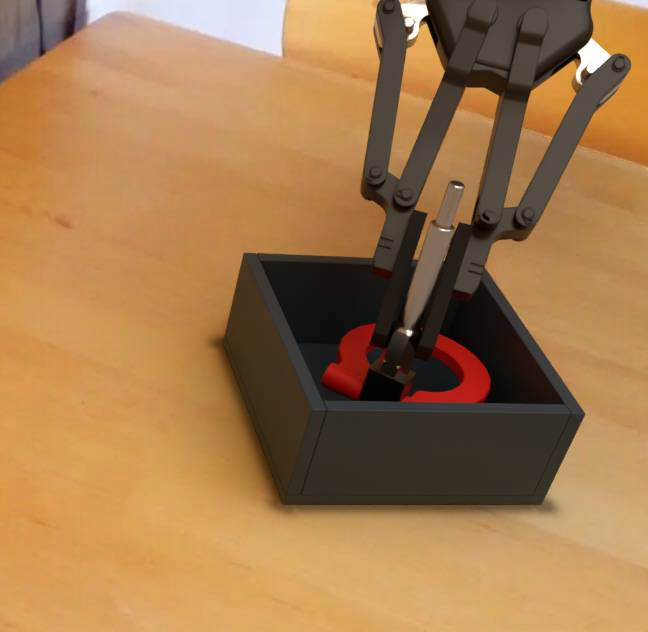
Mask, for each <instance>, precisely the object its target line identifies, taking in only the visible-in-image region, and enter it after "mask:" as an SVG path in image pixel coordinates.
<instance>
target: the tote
mask: <svg viewBox="0 0 648 632" xmlns="http://www.w3.org/2000/svg"><path fill="white" fill-rule="evenodd" d="M372 260H373V257H365V256H364V257H362V256H361V257H360V256H341V255H340V256H339V255H338V256H337V255H314V254H289V253H268V252H267V253H266V252H265V253H264V252H243V253H242V257H241V263H240V266H239V270H238V276H237V278H236V283H235V288H234V293H233V296H232V301H231V305H230V310H229V314H228V318H227V323H226V327H225V331H224V335H223V340H222V344H223V347H224V349H225V352H226V354H227V355H226V356H227V357H228V361H229V363H230V365H231V368H232V370H233V373H234V376H235V378H236V381H237V384H238V387H239V389H240V392H241V395H242V397H243V400H244V402H245V405H246V408H247V411H248V414H249V416H250V419H251V421H252V424H253V427H254V429H255V432H256V435H257V437H258V440H259V443H260V446H261V449H262V451H263V453H264V456H265V459H266V462H267V465H268V466H269V469H270V473H271V474H272V477H273V480H274V483H275V485H276V488H277V491H278V493H279V496H280V499H281V501H282V504H283V505H542V504H543V503H544V500H545V499H546V497H547V496H548V495H547V494H548V493H549V490H550V488H551V486H552V484H553V482H554V481H555V479H556V476H557V474H558V472H559V470H560V467H561V466H562V463H563V462H564V459H565V457H566V455H567V453H568V451H569V449H570V447H571V446H572V443H573V441H574V439H575V436H576V434H577V433H578V431H579V428H580V427H581V424H582V422H583V420H584V418H585V416H586V411H584V408H582V406H581V404H579V402H578V401H577V399H576V397H575V396H574V395H573V393H572V392H571V390H570V389H569V387H568V386H567V384H566V383H565V381H564V380H563V379H562V377H561V376H560V374H559V373H558V371H557V369H556V368H555V367H554V366H553V364H552V362H551V361H550V360H549V358H548V357H547V355H546V354H545V353H544V351H543V350H542V348H541V347H540V345H539V344H538V343H537V341H536V339H535V338H534V336H533V335H532V334H531V332H530V331H529V330H528V327H527V326H526V324H525V323H524V322H523V321H522V319H521V317H520V316H519V315H518V313H517V312H516V310H515V309H514V308H513V306H512V304H511V302H509V300H508V299H507V297H506V296H505V295H504V293H503V291H502V290H501V288H500V287H499V286H498V284H497V283H496V281H495V279H494V278H493V277H492V276H491V274H490V272H489V271H488V269H487V268H486V267H485V268H484V271H483V274H482V277H481V280H480V283H479V286H478V288H477V290H476V291H475V293H474V295H473V296H472V297H471V298H470V299H469V300H468V302H466V301H462V300H459V299H455V298H452V297H451V299H450V302H449V305H448V308H447V311H446V314H445V317H444V320H443V323H442V326H441V330H440V333H439V334H440V335H442V336H445V337H447V338H449V339H451V340H453V341H455V342H456V343H458V344H460V345H462V346H463V347H465V348H466V349H467V350H469V351H470V352H471V353H472V354H474V355H475V356H476V357H477V358H478V359H479V360H480V362H481V363H482V364H483V365H484V367H485V368H486V369H487V372H488V374H489V377H490V379H491V381H490V390H489V393H488V395H487V398H486V400H485V401H484V403H446V402H387V401H352V400H350V399H348V398H346V397H344V396H341V395H339V394H337V393H335V392H333V391H331V390H329V389H326V388H324V387H322V386H321V381H322V378H323V375H324V373H325V371H326V369H327V368H328V366H329V365H330V364H331V363H335V364H337V360H336V356H337V352H338V349H339V345H340V342H341V339H342V338H343V337H344V336H345V335H346V334H347V333H348V332H349V331H351V330H353V329H355V328H357V327H360V326H363V325H369V324H374V323H376V322H377V319H378V316H379V313H380V310H381V306H382V303H383V300H384V297H385V294H386V291H387V288H388V285H389V282H390V280H389V279H385V278H382V277H378V276H375V275H372V267H371V264H372ZM417 260H418V259H416V258H415V259H414V258H413V261H412V264H411V267H410V270H409V273H408V276H407V279H406V282H405V285H404V288H403V291H402V295H401V298H400V301H399V304H398V307H397V310H396V313H395V316H394V319H393V321H396V320H398V317H399V314H400V311H401V308H402V305H403V302H404V299H405V296H406V293H407V290H408V287H409V284H410V281H411V278H412V275H413V272H414V269H415V266H416V263H417ZM443 263H444V261H443ZM442 266H443V264H442ZM441 269H442V267H441ZM441 269H440V272H439V275H438V278H437V281H436V284H435V286H434V289H433V292H432V295H431V298H430V300H429V303H428V306H427V309H426V312H425V315H424V317H423V320H422V323H421V326H420V327H421V328H423V325H424V322H425V319H426V316H427V313H428V310H429V307H430V304H431V300H432V297H433V294H434V291H435V288H436V285H437V282H438V279H439V276H440V273H441ZM382 351H383V349H382V348H376V349H374V350H372V351H370V352H368V353H367V354H366V357H367V361H368V362H369V364H370V365H372V364H373V363H374V362H375V361H376V360H377V359H378V358H379V357H381V354H382ZM337 365H338V364H337ZM410 370H412V371H414V372H416V375H415V378H414V381H413V384H412V386H411V389H410V392H409V395H408V397H411V396H412V395H413V394H414V393H415V392H417V391H426V392H444V391H449V390H452V389H454V388H456V387H458V386H459V385H460V382H459V379H458V376H457V375H456V374H455V372H454V371H453V370H452V369H451V368H450V367H448V366H447V365H446V364H445V363H443V362H442V361H440V360H438V359H436V358H435V357H433V356H430V358H429V360H428V361H427V362H426V361H423V360H420V359H416V358H414V359H413V362H412V363H411V367H410Z"/></svg>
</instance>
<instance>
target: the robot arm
mask: <svg viewBox="0 0 648 632" xmlns="http://www.w3.org/2000/svg"><path fill="white" fill-rule="evenodd" d="M592 2H593V0H407V1H406V0H405V1H402V2H400V0H378V3H377V5H376V10H375V17H374V22H373V27H372V28H373V29H372V32H373V37H374V42H375V47H376V52H377V56H378V60H379V64H378V72H377V78H376V84H375V90H374V97H373V103H372V109H371V117H370V123H369V130H368V136H367V140H366V141H367V142H366V149H365V154H364V161H363V167H362V172H361V173H362V174H361V180H360V185H359V192H360V195H361V198H363V199H364V200H365V201H368V202H373V203H375V204H376V205H378V206H379V207H380V208H381V209H382V210H383V212H384V214H385V220H384V222H383V226H382V229H381V232H380V235H379V238H378V241H377V244H376V247H375V250H374V254H373V257H372V258H373V260H372V264H371V267H372V275H375V276H378V277H382V278H385V279H389V280H390V282H389V285H388V288H387V291H386V294H385V297H384V300H383V303H382V306H381V310H380V313H379V316H378V319H377V322H376V325H375V328H374V331H373V334H372V337H371V340H370V343H369V345H371V346H375V347H378V348H382V349H383V348H384V345H385V343H386V340H387V337H388V334H389V331H390V328H391V325H392V322H393V319H394V316H395V313H396V310H397V307H398V304H399V301H400V298H401V295H402V291H403V288H404V285H405V282H406V279H407V276H408V273H409V270H410V267H411V264H412V261H413V259H414V257H415V255H416V251H417V248H418V245H419V242H420V239H421V236H422V233H423V230H424V226H425V225H426V221H427V218H428V214H429V213H428V212H425V211H421V210H417V209H416V207H417V205H418V202H419V200H420V198H421V195H422V193H423V191H424V188H425V186H426V183H427V181H428V179H429V177H430V174H431V171H432V170H433V167H434V164H435V162H436V160H437V158H438V155H439V152H440V151H441V148H442V145H443V143H444V141H445V138H446V136H447V133H448V132H449V128H450V126H451V124H452V122H453V119H454V117H455V114H456V112H457V110H458V107H459V106H460V103H461V101H462V99H463V97H464V94H465V91H466V89H486V90H487V91H489V92H491V93H493V94H494V95H496V96H498V99H497V104H496V107H495V113H494V120H493V125H492V128H491V133H490V137H489V142H488V146H487V150H486V154H485V159H484V162H483V167H482V171H481V176H480V181H479V185H478V189H477V194H476V197H475V203H474V206H473V211H472V216H471V219H470V224H469V223H465V222H461V221H458V222H457V225H456V227H455V230H454V233H453V235H452V238H451V241H450V244H449V247H448V250H447V252H446V255H445V258H444V263H443V266H442V269H441V273H440V276H439V279H438V282H437V285H436V288H435V291H434V294H433V297H432V300H431V304H430V307H429V310H428V313H427V316H426V319H425V322H424V325H423V328H422V336H421V339H420V342H419V344H418V347H417V350H416V353H415V356H414V358H416V359H420V360H423V361H426V362H427V361H428V360H429V358H430V356H431V354H432V352H433V351H434V348H435V345H436V342H437V339H438V336H439V333H440V330H441V326H442V323H443V320H444V317H445V314H446V311H447V308H448V305H449V302H450V299H451V297H452V298H455V299H459V300H462V301H466V302H468V300H469V299H470V298H471V297H472V296H473V295H474V293H475V291H476V290H477V288H478V286H479V283H480V280H481V277H482V274H483V271H484V268H486V264H487V262H488V259H489V256H490V252H491V249H492V246H493V245H494V244H495V243H497V242H498V241H502V240H503V241H506V240H512V241H513V242H517V243H519V242H524V241H525V240H527V239H528V238H529V237H530V235H531V234H532V232H533V231H534V230H535V228H536V226H537V225H538V223H539V221H540V220H541V217H542V216H543V213H544V212H545V210H546V208H547V206H548V204H549V203H550V200H551V198H552V196H553V194H554V192H555V190H556V188H557V186H558V184H559V182H560V181H561V178H562V176H563V174H564V173H565V170H566V169H567V167H568V165H569V163H570V161H571V159H572V157H573V155H574V153H575V151H576V149H577V147H578V145H579V144H580V142H581V139H582V138H583V136H584V133H585V132H586V129H587V128H588V126H589V124H590V123H591V120H592V118H593V116H594V114H595V113H596V112H597V111H598V110H599V109H601V108H602V106H604V105H605V104H606V103H607V102H608V101H609V100H610V99H611V98H612V97H613V96H615V94H616V93H617V91H618V90H619V89H620V87H621V85H622V83H624V81H625V79H626V77H627V75H628V74H629V73H630V71H631V69H632V61H631V59H630V57H629V56H627V55H626V54H624V53H619V52H618V53H614V54H612V55H610V53H608V52H607V51H606V50H605V49H604V48H603V47H602V46H601V45H600V44H599V43H598V42H596V41H595V40H594V39H593V35H594V28H595V26H594V21H593V17H592V4H593V3H592ZM424 25H426V26H427V28H428V32H429V34H430V37H431V40H432V42H433V45H434V48H435V51H436V54H437V56H438V59H439V63H440V65H441V67H442V69H443V71H444V72H443V75H442V78H441V80H440V83H439V85H438V87H437V89H436V92H435V95H434V97H433V99H432V102H431V104H430V106H429V109H428V110H427V113H426V116H425V118H424V120H423V123H422V126H421V128H420V129H419V132H418V135H417V137H416V140H415V142H414V144H413V147H412V149H411V151H410V154H409V156H408V159H407V161H406V163H405V165H404V168H403V170H402V172H401V175H400V178H398V177H396V176H395V175H394V174H393V173H391V172H389V168H390V160H391V154H392V147H393V143H394V142H393V141H394V135H395V129H396V122H397V115H398V109H399V102H400V95H401V90H402V82H403V76H404V71H405V64H406V63H405V62H406V59H407V52H408V51H407V49H410V48H412V47H413V46H414V45H415V44H416V42H417V40H418V36H419V32H420V29H421V27H422V26H424ZM571 62H572V63H573V62H574V63H575V66H576V71H575V73H574V75H573V77H572V79H571V82H570V83H571V87H572V90H573V91H574V93H576V94H575V95H574V97H573V99H572V101H571V102H570V104H569V105H568V108H567V109H566V111H565V113H564V115H563V117H562V119H561V121H560V122H559V125H558V127H557V129H556V131H554V132H555V133H554V135H553V136H552V139H551V141H550V142H549V143H548V146H547V148H546V150H545V152H544V153H543V156H542V158H541V160H540V162H539V164H538V166H537V167H536V169H535V172H534V173H533V176H532V177H531V179H530V181H529V184H528V185H527V187H526V189H525V191H524V193H523V195H522V197H521V199H520V201H519V203H518V205H517V206H509V207H506V206H505V203H506V198H507V195H508V190H509V186H510V181H511V176H512V173H513V169H514V168H513V167H514V164H515V159H516V156H517V150H518V147H519V142H520V138H521V133H522V130H523V125H524V120H525V115H526V112H527V107H528V104H529V103H528V102H529V99H530V96H531V93H532V91H534V90H536V89H537V88H538V87H540V86H541V85H542V84H544V83H545V82H546V81H548V80H549V79H551V77H553V76H554V75H555V74H558V72H560V71H561V70H562V69H564V68H565V67H567V66H568V65H570V64H571ZM504 206H505V207H504Z"/></svg>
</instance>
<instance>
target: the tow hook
mask: <svg viewBox="0 0 648 632" xmlns="http://www.w3.org/2000/svg"><path fill="white" fill-rule="evenodd" d="M465 187H466V185H465V183H463V182H462V181H459V180H455V179H453V180H449V182H448V183H447V185H446V189H445V192H444V194H443V197H442V201H441V204H440V207H439V210H438V213H437V215H436V218H435V219H433V220H430V223H429V225H428V228H427V230H426V234H425V237H424V240H423V243H422V246H421V249H420V252H419V254H418V258H417V259H416V260H417V263H416V266H415V269H414V272H413V275H412V278H411V281H410V284H409V287H408V290H407V293H406V296H405V299H404V302H403V305H402V308H401V311H400V314H399V317H398V320H396V321H393V322H392V325H391V328H390V331H389V334H388V337H387V340H386V343H385V345H384V348H383V351H382V354H381V357H379V358H378V359H377V360H376V361H375V362H374V363H373V364H372V365H370V364H369V362H368V361H367V357H366V354H367V353H368V352H370V351H372V350H374V349H376V348H378V347H375V346H371V345H369V343H370V340H371V337H372V334H373V331H374V328H375V325H376V323H374V324H369V325H363V326H360V327H357V328H355V329H353V330H351V331H349V332H348V333H347V334H346V335H345V336H344V337H343V338H342V339H341V342H340V345H339V349H338V352H337V356H336V360H337V364H338V365H337V364H335V363H331V364H330V365H329V366H328V368H327V369H326V371H325V373H324V375H323V378H322V381H321V386H322V387H324V388H326V389H329V390H331V391H333V392H335V393H337V394H339V395H341V396H344V397H346V398H348V399H350V400H352V401H387V402H446V403H484V401H485V400H486V398H487V395H488V393H489V390H490V381H491V379H490V377H489V374H488V372H487V369H486V368H485V367H484V365H483V364H482V363H481V362H480V360H479V359H478V358H477V357H476V356H475V355H474V354H472V353H471V352H470V351H469V350H467V349H466V348H465V347H463V346H462V345H460V344H458V343H456V342H455V341H453V340H451V339H449V338H447V337H445V336H442V335H440V334H439V336H438V339H437V342H436V345H435V348H434V351H433V352H432V354H431V356H433V357H435V358H436V359H438V360H440V361H442V362H443V363H445V364H446V365H447V366H448V367H450V368H451V369H452V370H453V371H454V372H455V374H456V375H457V376H458V379H459V382H460V385H459V386H458V387H456V388H454V389H452V390H449V391H444V392H426V391H417V392H415V393H414V394H413V395H412V396H411V397H408V395H409V392H410V389H411V386H412V384H413V381H414V378H415V375H416V372H414V371H412V370H410V367H411V363H412V362H413V359H414V356H415V353H416V350H417V347H418V344H419V342H420V339H421V336H422V328H421V327H420V326H421V323H422V320H423V317H424V315H425V312H426V309H427V306H428V303H429V300H430V298H431V295H432V292H433V289H434V286H435V284H436V281H437V278H438V275H439V272H440V269H441V267H442V264H443V261H444V260H445V257H446V254H447V251H448V248H449V245H450V242H451V239H452V236H453V234H454V232H455V230H456V227H455V226H454V224H453V222H454V219H455V217H456V214H457V211H458V208H459V206H460V205H459V204H460V202H461V199H462V196H463V193H464V191H465Z"/></svg>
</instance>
